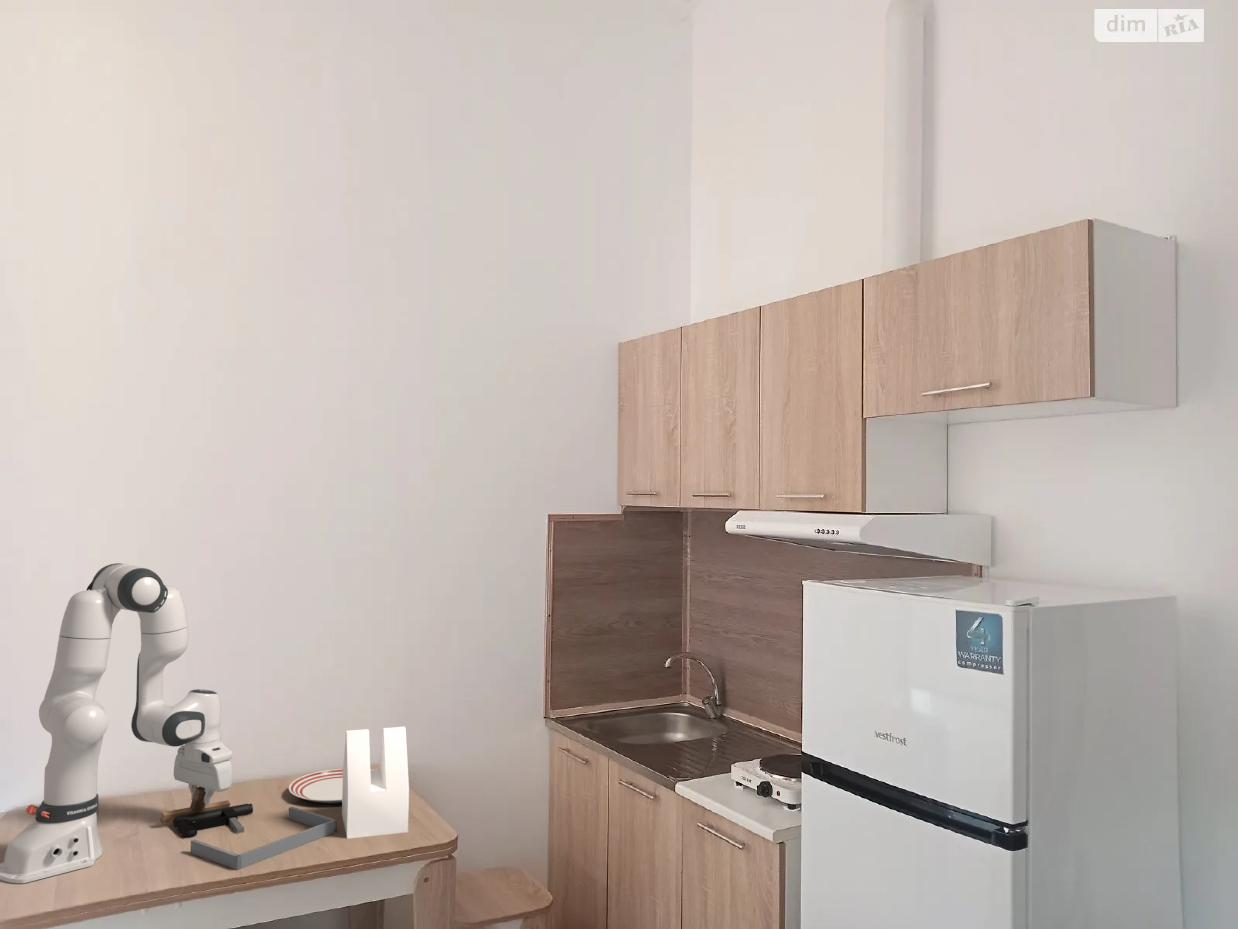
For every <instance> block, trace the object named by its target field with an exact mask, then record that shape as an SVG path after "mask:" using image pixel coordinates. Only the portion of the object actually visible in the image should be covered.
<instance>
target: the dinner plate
mask: <svg viewBox="0 0 1238 929" xmlns="http://www.w3.org/2000/svg"><path fill="white" fill-rule="evenodd" d="M342 788H343V768H335V769H334V768H333V769H326V770H321V771H320V770H319V771H315V772H311V773H308V774H305V775H302V776H300V777H297V778H296V779H294V780H293V781H292V782H290V784H289V785H288V791H289V793H290V794H291V795H293V796H294V797H297V798H299V799H302V800H305V801H309V802H314V803H319V804H340V803H341V804H342Z"/></svg>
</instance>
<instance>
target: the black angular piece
mask: <svg viewBox="0 0 1238 929" xmlns="http://www.w3.org/2000/svg"><path fill="white" fill-rule="evenodd" d="M253 811H254V807H253V803H243V804H237V805H232V806H231V805H230V807H226V808H220V809H215V810H210V811H204V812H199V813H194V814H188V815H183V816H178V817H176V818H175V819H174V821H173V822H172V826H174V827H175V828H176V830H177V831H178V833H179V834H180V836H181V837H182V838H183V839H190V838H194V837H196V836H197V834H198V831H203V830H207V829H208V830H209V829H213V828H218V827H223V826H229V827H230V828H231V829H232V830H233V831H234V832H235V833H236V834H243V833H244V832H245V827H244V826H243V825H242V823H241V822H240V821H239V820H238V818H239V817H243V816H248V815H250V814H253V813H254V812H253Z"/></svg>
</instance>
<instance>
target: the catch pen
mask: <svg viewBox="0 0 1238 929" xmlns="http://www.w3.org/2000/svg"><path fill="white" fill-rule="evenodd" d="M288 820H292V821H295V822H297V823H301V824H304V825H307V826H311V827H310V828H307V829H305V830H301V831H300V832H296V833H294V834H291V835H289V836H285V837H283V838H280V839H277V840H274V841H272V842H269V843H266V844H264V845H261V846H259V847H256V848H252V849H250V850H248V851H244V852H242V853H240V854H238V853H234V852H232V851H230V850H226V849H223V848H221V847H218V846H214V845H212V844H209V843H205V842H202V841H200V840H197V839H191V840H190V854H191V855H195V856H197V857H201V858H202V859H206V860H209V861H212V862H214V863H217V864H220V865H222V866H226V867H229V868H231V869H233V870H241V869H243V868H246V867H248V866H252V865H254V864H257V863H259V862H262V861H264V860H267V859H270V858H272V857H274V856H276V855H280V854H282V853H285V852H287V851H290V850H293V849H296V848H297V847H300V846H303V845H306V844H308V843H310V842H313V841H317V840H319V839H321V838H324V837H327V836H329V835H331V834H334V833H335V834H336V833H338V826H339V825H338V819H336V818H333V817H328V816H326V815H322V814H318V813H315V812H312V811H309V810H308V811H307V810H305V809H302V808H298V807H295V806H290V807H288Z"/></svg>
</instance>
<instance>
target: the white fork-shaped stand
mask: <svg viewBox="0 0 1238 929" xmlns="http://www.w3.org/2000/svg"><path fill="white" fill-rule="evenodd" d="M370 742H371V741H370V729H368V728H366V729H365V728H364V729H363V728H362V729H351V730H345V743H344V752H343V753H344V754H343V755H344V756H343V766H342V767H343V768H342V769H343V788H342V803H341V816H342V820H343V821H342V822H343V826H344V831H345V834H346V839H347V840H348V839H355V838H366V837H375V836H384V835H394V834H402V833H409V812H410V810H409V806H410V805H409V803H410V802H409V801H410V784H409V781H410V780H409V764H408V763H409V762H408V746H407V745H408V744H407V729H406V726H395V727H383V728H382V735H381V745H380V752H379V753H380V754H379V762H378V768H376V769H371V750H370V749H371V747H370V746H371V744H370Z"/></svg>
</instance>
